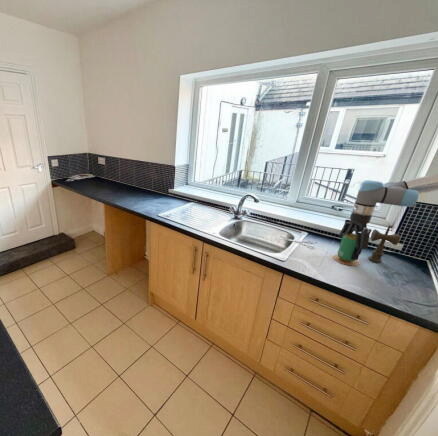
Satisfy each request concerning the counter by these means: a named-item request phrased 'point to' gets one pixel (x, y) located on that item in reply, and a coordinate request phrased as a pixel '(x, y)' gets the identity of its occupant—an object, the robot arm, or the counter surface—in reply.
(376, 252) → the kendama
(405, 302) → the counter surface
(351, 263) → the cork coaster
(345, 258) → the beverage can
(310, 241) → the scissors
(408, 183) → the robot arm
